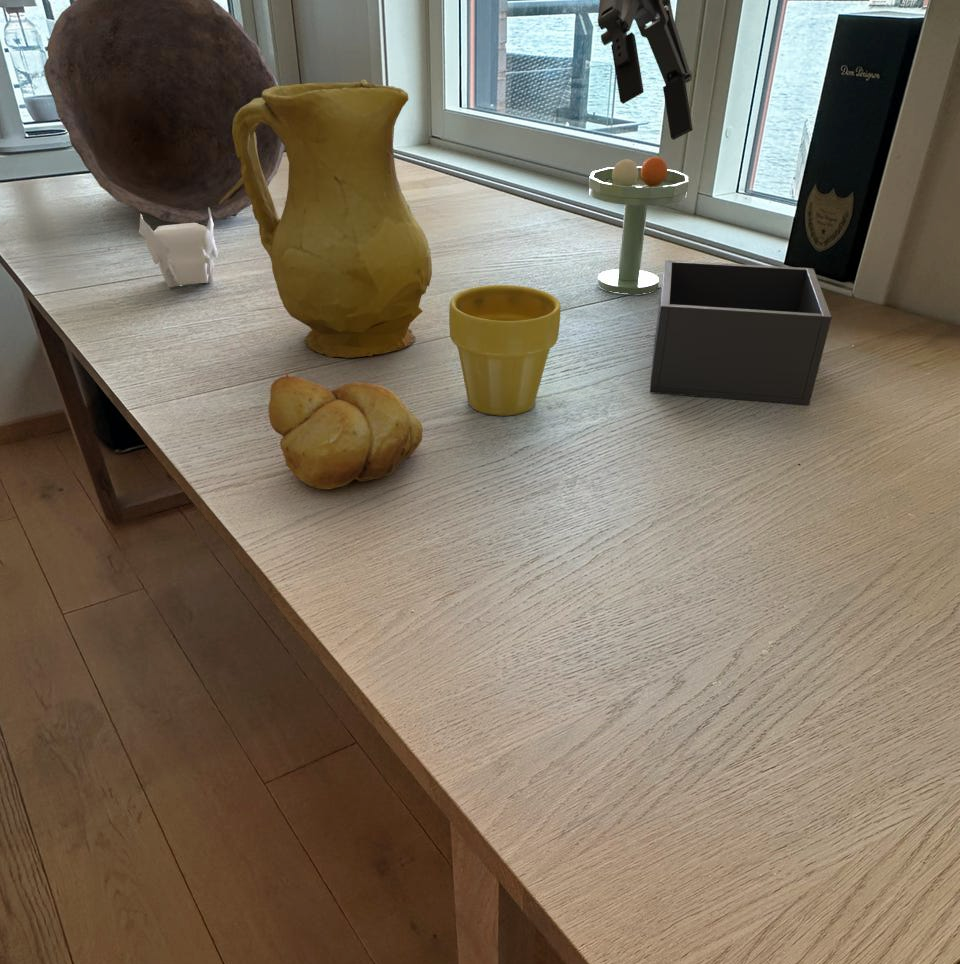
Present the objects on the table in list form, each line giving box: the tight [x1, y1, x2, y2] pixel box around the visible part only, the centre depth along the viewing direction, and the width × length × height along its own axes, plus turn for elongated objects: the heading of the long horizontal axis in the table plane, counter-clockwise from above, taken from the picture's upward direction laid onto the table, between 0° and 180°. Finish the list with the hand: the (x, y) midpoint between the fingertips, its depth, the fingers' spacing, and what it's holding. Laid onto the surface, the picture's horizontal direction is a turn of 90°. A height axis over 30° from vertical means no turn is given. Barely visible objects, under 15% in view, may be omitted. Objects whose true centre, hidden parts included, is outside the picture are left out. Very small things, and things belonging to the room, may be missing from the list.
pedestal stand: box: [588, 166, 690, 295], centre depth 110 cm, size 12×12×13 cm
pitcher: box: [232, 79, 433, 359], centre depth 91 cm, size 17×19×25 cm
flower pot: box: [448, 284, 562, 417], centre depth 82 cm, size 10×10×10 cm
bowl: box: [43, 0, 285, 224], centre depth 142 cm, size 34×35×30 cm
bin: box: [649, 259, 833, 406], centre depth 89 cm, size 16×16×9 cm
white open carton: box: [138, 207, 219, 288], centre depth 111 cm, size 10×12×9 cm
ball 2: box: [641, 156, 668, 186], centre depth 106 cm, size 3×3×3 cm
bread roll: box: [267, 374, 423, 490], centre depth 71 cm, size 13×10×8 cm
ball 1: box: [612, 159, 638, 186], centre depth 105 cm, size 3×3×3 cm
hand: (658, 116), depth 105 cm, fingers open, 13 cm apart
